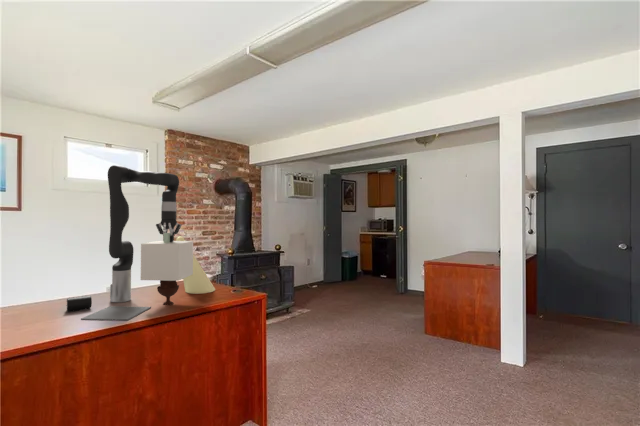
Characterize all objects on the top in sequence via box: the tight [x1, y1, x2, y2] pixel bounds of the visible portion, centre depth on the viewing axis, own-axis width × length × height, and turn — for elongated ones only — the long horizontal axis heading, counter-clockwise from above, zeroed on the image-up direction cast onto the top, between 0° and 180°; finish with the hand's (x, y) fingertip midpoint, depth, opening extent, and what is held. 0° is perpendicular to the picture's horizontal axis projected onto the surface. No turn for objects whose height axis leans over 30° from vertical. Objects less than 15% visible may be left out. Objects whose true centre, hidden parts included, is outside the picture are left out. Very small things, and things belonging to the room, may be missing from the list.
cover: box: [140, 232, 194, 282], centre depth 191 cm, size 20×20×24 cm
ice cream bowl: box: [157, 280, 180, 306], centre depth 191 cm, size 11×11×15 cm
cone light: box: [175, 236, 216, 295], centre depth 223 cm, size 25×18×35 cm
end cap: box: [66, 295, 93, 313], centre depth 177 cm, size 10×7×7 cm
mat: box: [80, 305, 152, 322], centre depth 172 cm, size 22×22×1 cm
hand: (168, 242), depth 191 cm, fingers closed on cover, 2 cm apart
